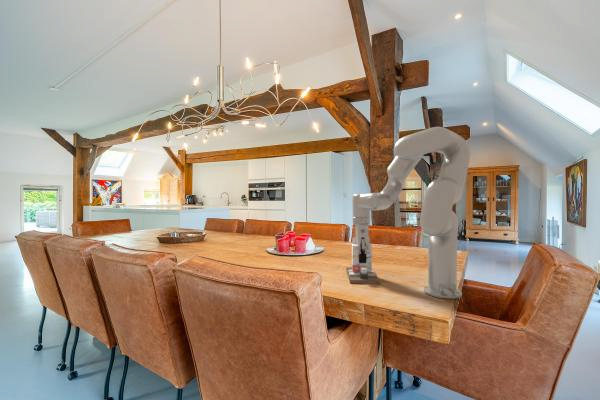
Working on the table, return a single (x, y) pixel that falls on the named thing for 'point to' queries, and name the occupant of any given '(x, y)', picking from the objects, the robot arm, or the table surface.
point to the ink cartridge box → (355, 257)
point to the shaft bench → (362, 281)
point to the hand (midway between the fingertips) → (361, 261)
